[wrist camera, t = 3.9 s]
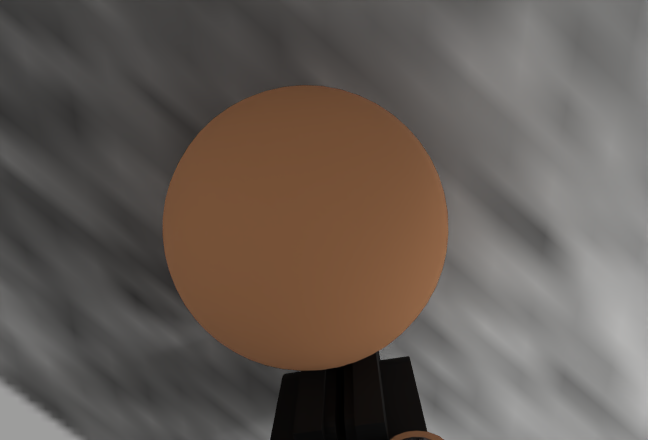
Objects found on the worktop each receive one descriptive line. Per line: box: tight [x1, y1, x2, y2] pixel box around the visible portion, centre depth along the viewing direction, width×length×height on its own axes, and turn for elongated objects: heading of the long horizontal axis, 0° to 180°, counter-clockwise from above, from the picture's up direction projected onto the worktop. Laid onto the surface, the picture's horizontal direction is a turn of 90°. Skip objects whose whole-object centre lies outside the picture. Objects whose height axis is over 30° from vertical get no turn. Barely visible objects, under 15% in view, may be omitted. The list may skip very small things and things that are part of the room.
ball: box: [163, 85, 448, 371], centre depth 9 cm, size 6×6×6 cm
